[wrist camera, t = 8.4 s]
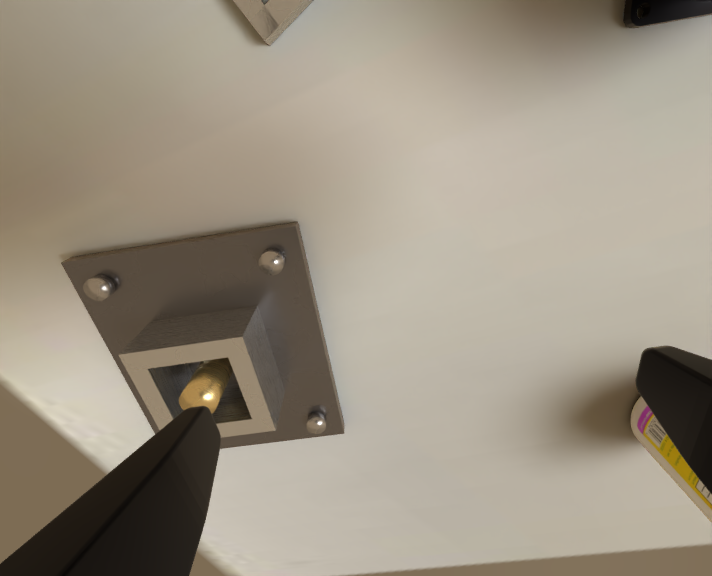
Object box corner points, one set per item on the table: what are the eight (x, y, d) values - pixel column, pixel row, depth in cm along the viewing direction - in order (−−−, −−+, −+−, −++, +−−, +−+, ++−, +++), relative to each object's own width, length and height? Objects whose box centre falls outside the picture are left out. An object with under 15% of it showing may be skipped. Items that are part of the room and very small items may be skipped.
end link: (257, 305, 19) (242, 336, 17) (285, 391, 22) (275, 430, 19) (150, 321, 20) (118, 354, 17) (189, 404, 22) (167, 444, 19)
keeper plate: (298, 221, 18) (283, 251, 14) (344, 424, 24) (343, 483, 20) (72, 257, 19) (-1, 294, 15) (172, 445, 25) (139, 506, 21)
